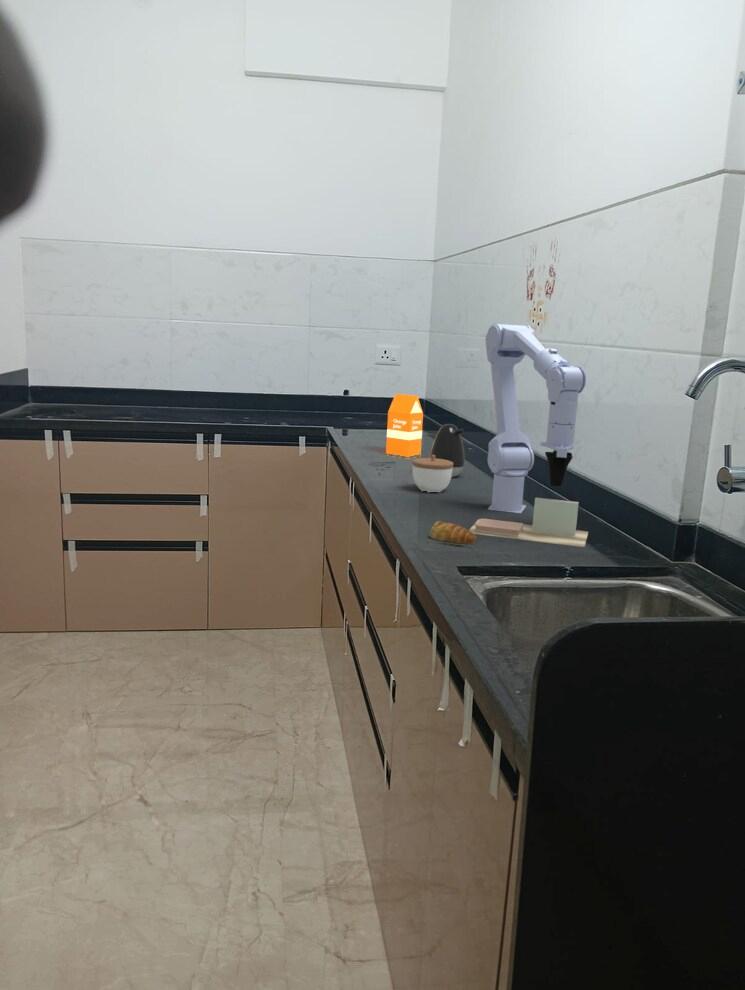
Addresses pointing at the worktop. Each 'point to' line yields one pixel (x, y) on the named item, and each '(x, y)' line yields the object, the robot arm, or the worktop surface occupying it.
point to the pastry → (452, 533)
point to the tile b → (555, 516)
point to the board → (543, 536)
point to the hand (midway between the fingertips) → (555, 485)
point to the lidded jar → (432, 473)
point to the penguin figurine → (450, 447)
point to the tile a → (499, 527)
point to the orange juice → (404, 426)
